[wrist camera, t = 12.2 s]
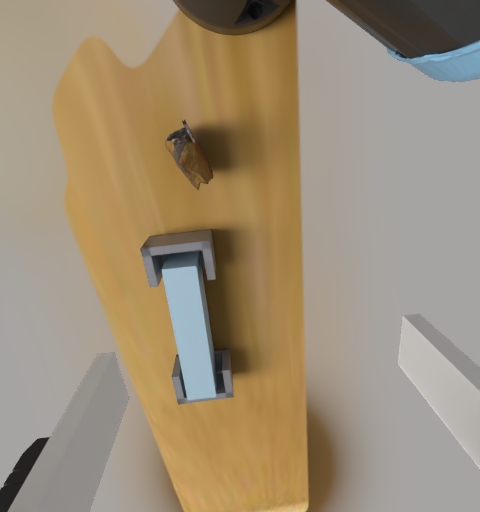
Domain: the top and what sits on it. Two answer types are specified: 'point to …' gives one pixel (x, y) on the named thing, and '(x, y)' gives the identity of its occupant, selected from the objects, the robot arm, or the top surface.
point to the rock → (189, 156)
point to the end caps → (202, 241)
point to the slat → (191, 323)
